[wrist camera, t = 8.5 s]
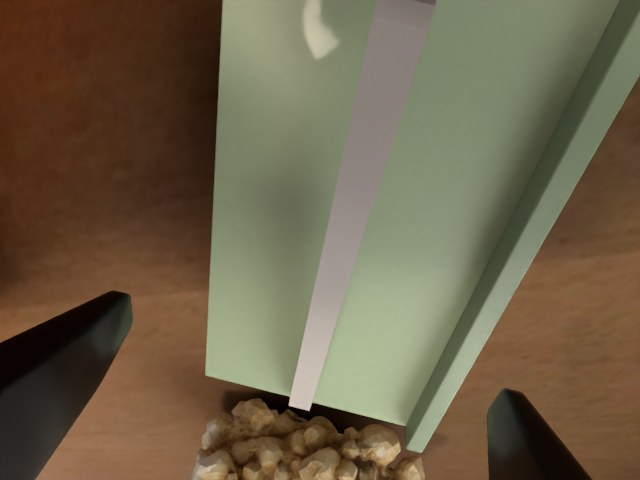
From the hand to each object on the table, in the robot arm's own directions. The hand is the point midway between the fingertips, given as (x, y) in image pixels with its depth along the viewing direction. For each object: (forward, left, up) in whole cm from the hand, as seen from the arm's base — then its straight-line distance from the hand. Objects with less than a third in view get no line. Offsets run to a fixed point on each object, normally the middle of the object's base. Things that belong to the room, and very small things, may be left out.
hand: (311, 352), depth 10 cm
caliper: (0, 0, -6) cm, 6 cm away
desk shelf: (+1, 0, -11) cm, 11 cm away
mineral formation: (+3, -21, -11) cm, 24 cm away
